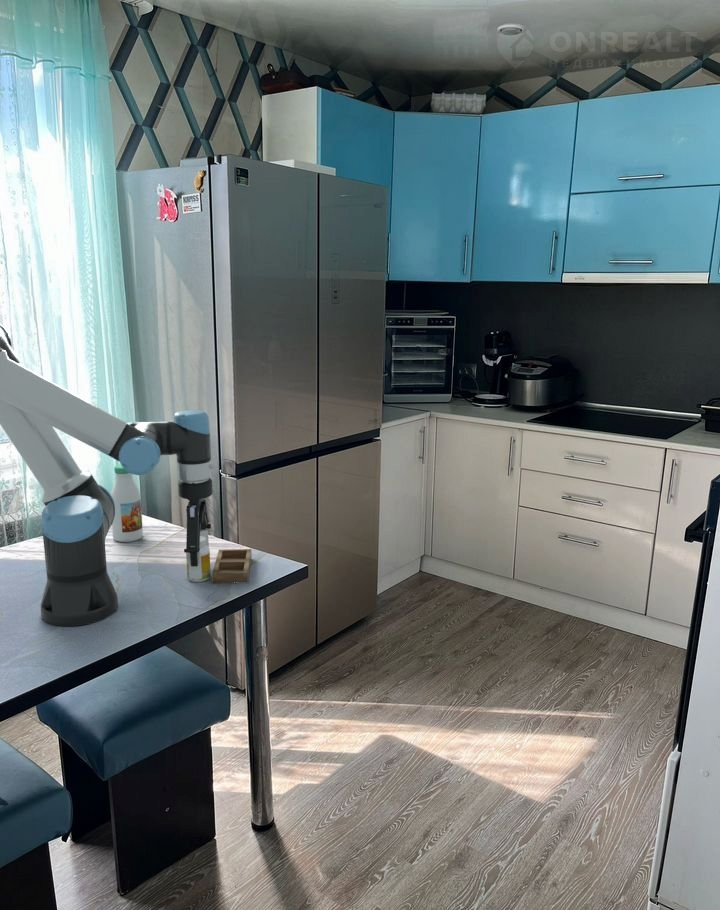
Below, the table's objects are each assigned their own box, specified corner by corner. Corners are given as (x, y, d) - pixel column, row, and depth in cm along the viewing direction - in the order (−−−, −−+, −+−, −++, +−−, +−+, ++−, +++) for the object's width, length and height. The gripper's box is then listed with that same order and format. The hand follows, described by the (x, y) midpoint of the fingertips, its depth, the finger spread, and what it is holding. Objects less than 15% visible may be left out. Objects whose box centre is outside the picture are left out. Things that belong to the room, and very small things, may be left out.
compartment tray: (247, 582, 167) (247, 572, 166) (212, 583, 166) (212, 573, 165) (251, 558, 181) (251, 549, 181) (219, 559, 181) (218, 549, 180)
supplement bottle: (212, 573, 172) (211, 534, 170) (208, 582, 167) (207, 542, 164) (189, 573, 172) (188, 534, 169) (185, 582, 166) (183, 542, 164)
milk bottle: (111, 543, 190) (106, 470, 185) (114, 533, 197) (109, 462, 193) (141, 541, 191) (137, 469, 187) (144, 532, 199) (139, 461, 194)
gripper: (205, 494, 152) (209, 588, 157) (217, 464, 176) (221, 546, 181) (168, 495, 151) (174, 589, 156) (186, 465, 175) (191, 547, 180)
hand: (199, 566), depth 169 cm, fingers open, 13 cm apart
